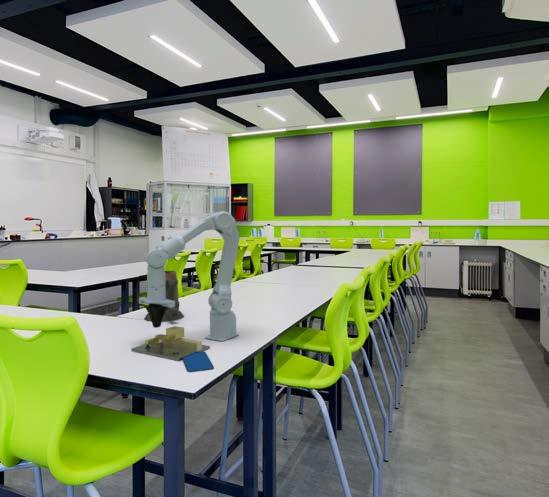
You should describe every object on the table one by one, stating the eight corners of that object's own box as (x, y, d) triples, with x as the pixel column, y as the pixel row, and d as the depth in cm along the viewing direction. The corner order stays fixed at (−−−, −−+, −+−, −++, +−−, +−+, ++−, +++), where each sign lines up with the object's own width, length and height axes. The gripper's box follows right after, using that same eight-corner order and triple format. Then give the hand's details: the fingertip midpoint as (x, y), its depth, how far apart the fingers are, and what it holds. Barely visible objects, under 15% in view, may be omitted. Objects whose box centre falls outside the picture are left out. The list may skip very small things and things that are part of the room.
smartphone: (187, 371, 107) (180, 353, 121) (187, 374, 107) (180, 356, 121) (214, 368, 109) (205, 351, 123) (214, 371, 109) (205, 354, 123)
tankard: (139, 316, 176) (138, 270, 175) (177, 311, 185) (176, 268, 184) (153, 327, 156) (152, 276, 155) (194, 322, 165) (194, 273, 163)
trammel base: (164, 340, 138) (164, 330, 138) (209, 348, 128) (209, 338, 128) (131, 350, 126) (131, 340, 126) (178, 361, 116) (178, 350, 116)
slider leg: (175, 342, 131) (174, 326, 131) (184, 344, 129) (184, 327, 129) (155, 349, 124) (155, 331, 124) (165, 351, 122) (164, 333, 122)
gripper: (131, 286, 132) (132, 326, 133) (163, 289, 125) (164, 332, 125) (147, 283, 138) (148, 322, 139) (179, 286, 131) (179, 327, 131)
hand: (157, 327), depth 132 cm, fingers closed
